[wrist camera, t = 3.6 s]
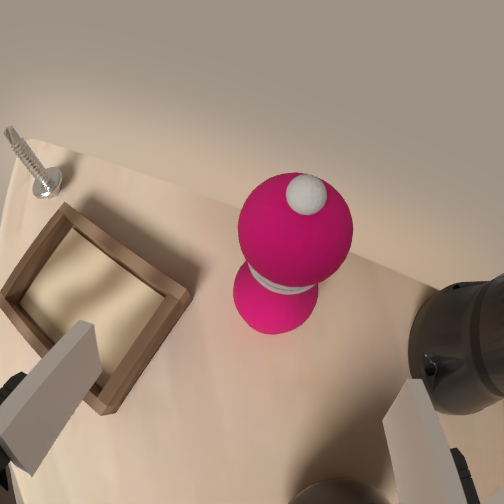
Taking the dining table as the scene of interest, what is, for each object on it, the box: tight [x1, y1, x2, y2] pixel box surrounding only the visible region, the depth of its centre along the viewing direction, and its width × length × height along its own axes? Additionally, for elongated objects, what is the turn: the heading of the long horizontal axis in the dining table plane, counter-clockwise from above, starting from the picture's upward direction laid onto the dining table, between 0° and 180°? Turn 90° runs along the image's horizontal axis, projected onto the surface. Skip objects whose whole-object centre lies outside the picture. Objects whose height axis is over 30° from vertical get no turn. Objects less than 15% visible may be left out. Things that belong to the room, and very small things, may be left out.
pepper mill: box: [233, 173, 353, 335], centre depth 22 cm, size 7×7×20 cm
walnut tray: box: [0, 202, 193, 416], centre depth 29 cm, size 18×14×4 cm
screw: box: [4, 126, 63, 199], centre depth 30 cm, size 13×5×5 cm
